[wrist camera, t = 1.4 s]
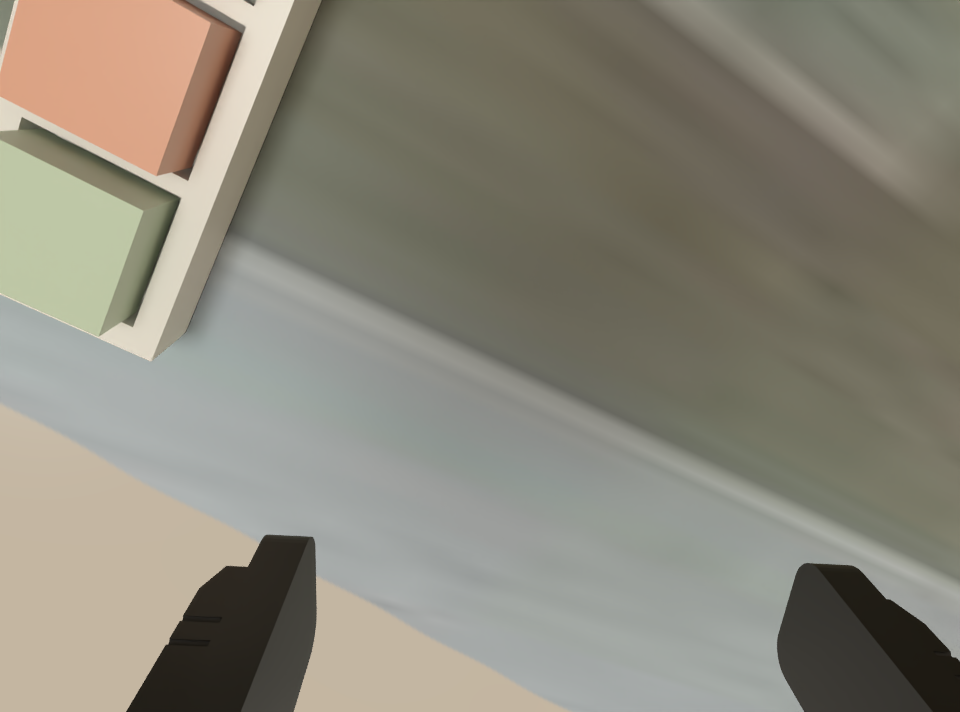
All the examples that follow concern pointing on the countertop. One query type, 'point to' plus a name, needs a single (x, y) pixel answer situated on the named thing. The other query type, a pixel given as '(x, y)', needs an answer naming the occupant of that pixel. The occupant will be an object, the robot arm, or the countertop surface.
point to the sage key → (76, 231)
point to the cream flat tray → (202, 163)
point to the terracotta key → (121, 74)
